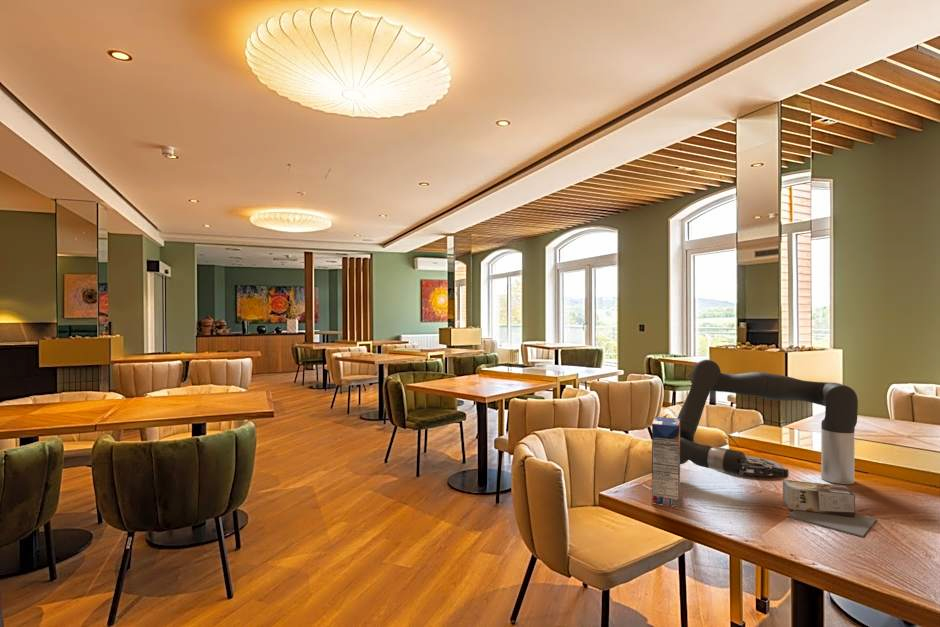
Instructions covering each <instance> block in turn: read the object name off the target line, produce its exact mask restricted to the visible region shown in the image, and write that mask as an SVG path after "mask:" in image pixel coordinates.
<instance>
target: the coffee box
mask: <svg viewBox="0 0 940 627" xmlns="http://www.w3.org/2000/svg"><path fill="white" fill-rule="evenodd" d="M782 500H783V502H784V503H785V505H786V506H787V508H788V509H789V510H803V511H811V512H819V513H827V514H835V515H843V516H851V517H855V514H856V494H854V493H853V492H852V491H851V490H850V489H849V488H848V487H847V486H845V485H842V484H832V483H831V484H830V483H829V484H828V483H821V482H810V481H800V480H791V479H790V480H789V479H782Z"/></svg>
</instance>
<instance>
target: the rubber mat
mask: <svg viewBox="0 0 940 627" xmlns="http://www.w3.org/2000/svg"><path fill="white" fill-rule="evenodd" d="M786 517H787V518H790V519H793V520H797V521H800V522H805V523H809V524H812V525H816V526H819V527H823V528H827V529H831V530H835V531H838V532H841V531H842V533H846V534H849V533H850V535H852V534H853V536H856V535H857V537H859V538H860V537H861V538H864V537H865V536H866V534H867V533H868V532H869V531H870V529H871V528H872V527H873V525H874V524H875V523H876V522H875V521H877V518H873V517H868V516H864V515H861V514H856V513H855V517H851V516H843V515H835V514H827V513H819V512H811V511H803V510H795V509H793V510H792V511H791V512H790V513H789V514H788V515H787V516H786ZM874 522H875V523H874ZM871 526H872V527H871ZM867 531H868V532H867Z"/></svg>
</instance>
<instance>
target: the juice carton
mask: <svg viewBox="0 0 940 627" xmlns="http://www.w3.org/2000/svg"><path fill="white" fill-rule="evenodd" d="M677 418H678V417H677ZM677 418H676V417H675V418H674V417H663V416H655V417H654V419H653V421H652V424H651V433H652V434H651V504H652V503H656V504H663V505H669V506H674V507H673V508H675V507H679V508H680V499H679V498H681V497H680V496H681V494H680V493H681V486H680V485H681V464H680V419H677Z"/></svg>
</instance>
